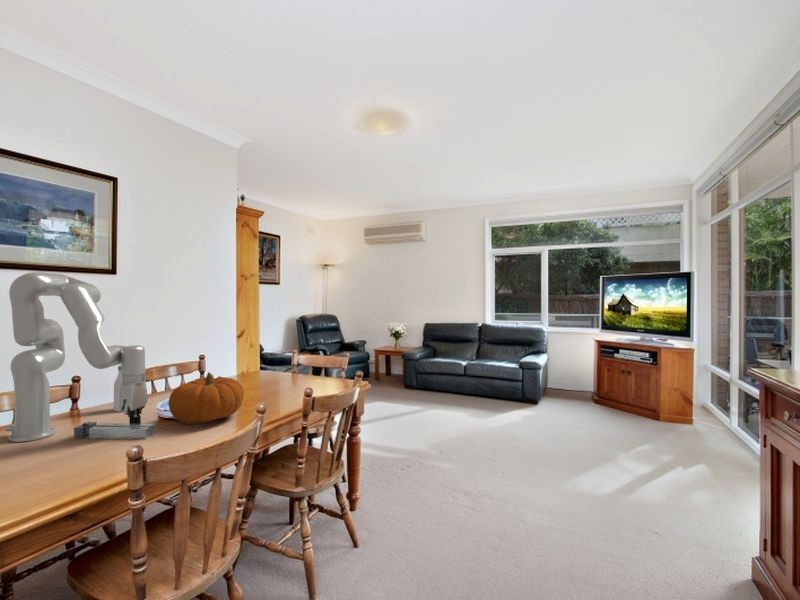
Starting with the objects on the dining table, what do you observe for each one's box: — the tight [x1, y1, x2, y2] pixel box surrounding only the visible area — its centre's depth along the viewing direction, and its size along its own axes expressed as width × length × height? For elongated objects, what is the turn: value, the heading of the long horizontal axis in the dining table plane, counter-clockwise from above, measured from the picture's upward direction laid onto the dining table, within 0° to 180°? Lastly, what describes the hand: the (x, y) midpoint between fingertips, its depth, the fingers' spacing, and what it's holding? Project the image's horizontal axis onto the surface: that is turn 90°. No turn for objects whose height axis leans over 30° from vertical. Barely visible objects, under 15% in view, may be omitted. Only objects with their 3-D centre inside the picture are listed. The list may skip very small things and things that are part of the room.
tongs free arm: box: [95, 422, 156, 436], centre depth 148 cm, size 20×2×4 cm, turn 89°
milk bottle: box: [113, 364, 124, 413], centre depth 180 cm, size 8×8×20 cm
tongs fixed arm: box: [73, 421, 151, 439], centre depth 147 cm, size 26×6×5 cm, turn 90°
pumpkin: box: [168, 371, 245, 425], centre depth 167 cm, size 28×28×20 cm
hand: (135, 426), depth 151 cm, fingers closed
